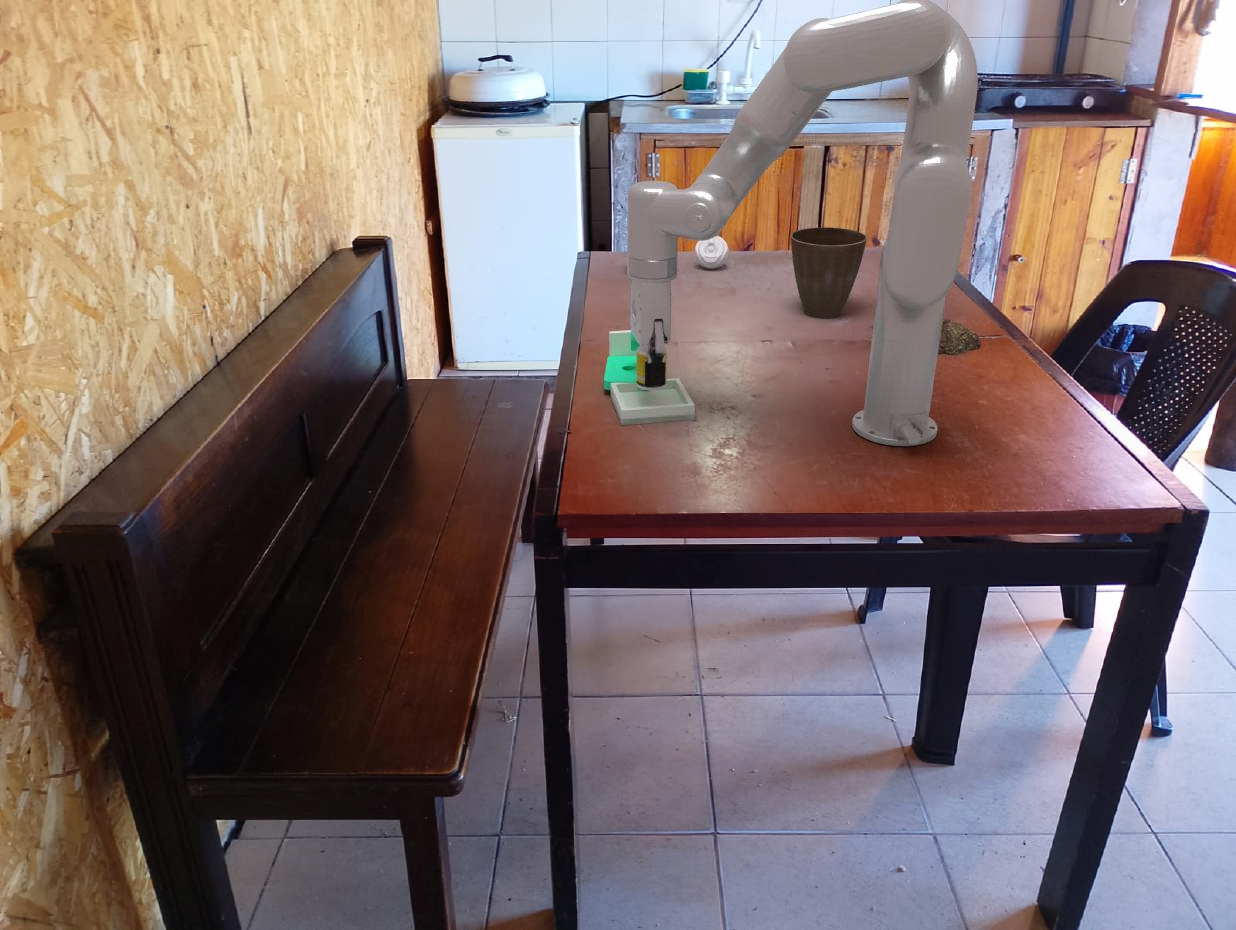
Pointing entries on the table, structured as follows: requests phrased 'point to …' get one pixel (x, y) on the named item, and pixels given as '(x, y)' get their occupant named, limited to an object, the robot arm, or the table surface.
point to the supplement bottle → (641, 368)
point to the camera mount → (622, 368)
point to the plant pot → (826, 267)
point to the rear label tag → (620, 343)
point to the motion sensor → (711, 252)
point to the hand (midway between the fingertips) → (651, 377)
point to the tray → (652, 403)
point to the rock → (957, 339)
